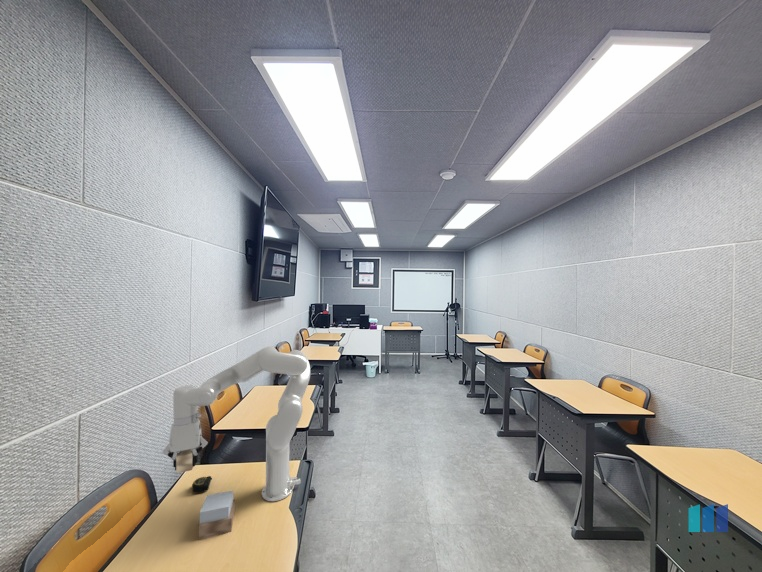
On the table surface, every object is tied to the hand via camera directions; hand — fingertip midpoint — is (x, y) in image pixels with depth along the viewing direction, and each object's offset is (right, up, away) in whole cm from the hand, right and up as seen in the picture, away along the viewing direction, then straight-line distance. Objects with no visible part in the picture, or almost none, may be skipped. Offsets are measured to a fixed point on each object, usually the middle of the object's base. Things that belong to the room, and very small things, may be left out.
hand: (185, 466), depth 112 cm
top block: (+16, -13, -6) cm, 21 cm away
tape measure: (-2, -19, +14) cm, 23 cm away
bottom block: (+16, -18, -6) cm, 25 cm away
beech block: (0, -1, 0) cm, 1 cm away
